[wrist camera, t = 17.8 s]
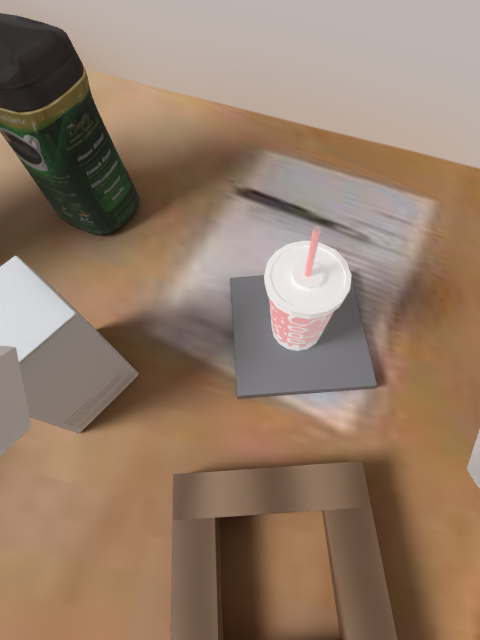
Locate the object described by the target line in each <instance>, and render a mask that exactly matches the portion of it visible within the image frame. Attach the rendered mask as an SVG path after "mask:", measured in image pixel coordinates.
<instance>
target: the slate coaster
mask: <svg viewBox="0 0 480 640" xmlns="http://www.w3.org/2000/svg"><path fill="white" fill-rule="evenodd" d="M349 270H350V268H349ZM264 282H265V281H264V275H262V276H250V277H238V278H230V283H231V300H232V317H233V333H234V350H235V367H236V384H237V397H238V399H241V398H254V397H267V396H280V395H293V394H306V393H319V392H333V391H346V390H359V389H372V388H375V387H376V386H377V383H376V379H375V375H374V370H373V366H372V362H371V358H370V353H369V349H368V345H367V340H366V336H365V332H364V328H363V323H362V319H361V315H360V310H359V306H358V302H357V298H356V293H355V289H354V285H353V280H352V276H351V285H350V291H349V293H348V294H347V296H346V298H345V299H344V301H343V302H342V304H341V306H340V307H339V308H338V309H336V310H335V311H334V312H333V314H332V316H331V318H330V320H329V321H328V323H327V325H326V327H325V329H324V330H323V332H322V334H321V336H320V337H319V339H318V341H317V342H316V344H314V345H313V346H311V347H310V348H308V349H305V350H300V351H296V350H290V349H287V348H285V347H284V346H282V345H280V344H279V343H278V341H277V340H276V339H275V337H274V335H273V331H272V325H271V314H270V303H269V297H268V295H267V291H266V287H265V283H264Z"/></svg>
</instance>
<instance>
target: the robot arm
mask: <svg viewBox="0 0 480 640" xmlns="http://www.w3.org/2000/svg"><path fill="white" fill-rule="evenodd" d="M31 427H32V426H31V421H30V416H29V411H28V406H27V401H26V396H25V391H24V385H23V380H22V375H21V370H20V365H19V360H18V355H17V350H16V347H11V346H0V457H1V456H2V455H3V454H4V453H5V452H6V451H7V450H8V449H9V448H10V447H11V446H12V445H13V444H14V443H15V442H16V441H17V440H18V439H19V438H20V437H21V436H22V435H23V434H24V433H25V432H26V431H28V430H29V429H30V428H31ZM467 471H468V472H469V474H470V475H471V477H472V478H473V480H474V481H475V483H476V484H477V486H478V487H479V489H480V430H479V433H478V436H477V439H476V442H475V445H474V448H473V451H472V454H471V457H470V461H469V464H468V467H467Z"/></svg>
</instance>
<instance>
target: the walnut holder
mask: <svg viewBox="0 0 480 640" xmlns="http://www.w3.org/2000/svg"><path fill="white" fill-rule="evenodd" d="M319 510H322V512H323V519H324V526H325V533H326V540H327V547H328V554H329V561H330V567H331V574H332V581H333V588H334V595H335V602H336V609H337V616H338V623H339V630H340V637H341V640H397V635H396V630H395V624H394V619H393V614H392V609H391V604H390V599H389V594H388V589H387V584H386V579H385V574H384V569H383V563H382V558H381V553H380V548H379V543H378V538H377V533H376V528H375V523H374V518H373V513H372V508H371V502H370V497H369V492H368V487H367V482H366V477H365V472H364V467H363V462H362V461H355V462H341V463H327V464H313V465H299V466H285V467H271V468H257V469H243V470H229V471H215V472H201V473H187V474H173V527H172V587H171V640H224V639H223V609H222V579H221V549H220V519H219V517H231V516H245V515H260V514H275V513H289V512H304V511H319Z"/></svg>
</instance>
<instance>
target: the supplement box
mask: <svg viewBox="0 0 480 640" xmlns="http://www.w3.org/2000/svg"><path fill="white" fill-rule="evenodd" d="M0 346H11V347H16V350H17V355H18V360H19V365H20V370H21V375H22V380H23V385H24V391H25V396H26V401H27V406H28V411H29V416H30V417H31V418H33V419H36V420H39V421H43V422H46V423H49V424H51V425H55V426H57V427H60V428H63V429H66V430H69V431H72V432H76V433H78V434H79V433H80V432H81V431H82V430H83V429H84V428H85V427H87V426H88V425H89V424H90V423H91V422H92V421H93V420H94V419H95V418H96V417H97V416H98V415H99V414H100V413H101V412H102V411H103V410H104V409H105V408H106V407H107V406H108V405H109V404H110V403H111V402H112V401H113V400H114V399H115V398H116V397H117V396H118V395H119V394H120V393H121V392H122V391H123V390H124V389H125V388H126V387H127V386H128V385H129V384H131V383H132V381H133V380H134V379H135V378H136V377H137V376H138V375H139V373H138V372H137V371H136V370H135V369H134V368H133V367H132V366H131V365H130V364H129V363H128V362H127V361H126V360H125V359H124V358H123V357H122V356H121V355H120V354H119V353H118V352H117V351H116V350H115V349H114V348H113V347H112V346H111V345H110V344H109V343H108V342H107V341H106V339H105V338H104V337H103V336H102V335H101V334H100V333H99V332H98V331H97V330H96V329H95V328H94V327H93V326H92V325H91V324H90V323H89V322H88V321H87V320H86V319H85V318H84V317H83V316H82V315H81V314H80V313H79V312H78V311H77V310H76V309H75V308H74V307H73V306H72V305H71V304H70V303H69V302H67V301H66V300H65V299H64V298H63V297H62V296H61V295H60V294H59V293H58V292H57V291H56V290H55V289H54V288H53V287H52V286H51V285H50V284H49V283H47V282H46V281H45V280H44V279H43V278H42V277H41V276H40V275H39V274H37V273H36V272H35V271H34V270H33V269H32V268H31V267H29V266H28V265H27V264H26V263H25V262H24V261H23V260H21V259H20V258H19V257H18V256H14V257H13V258H11V259H10V260H9V261H7V262H6V263H5V264H3V265H2V266H1V267H0Z"/></svg>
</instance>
